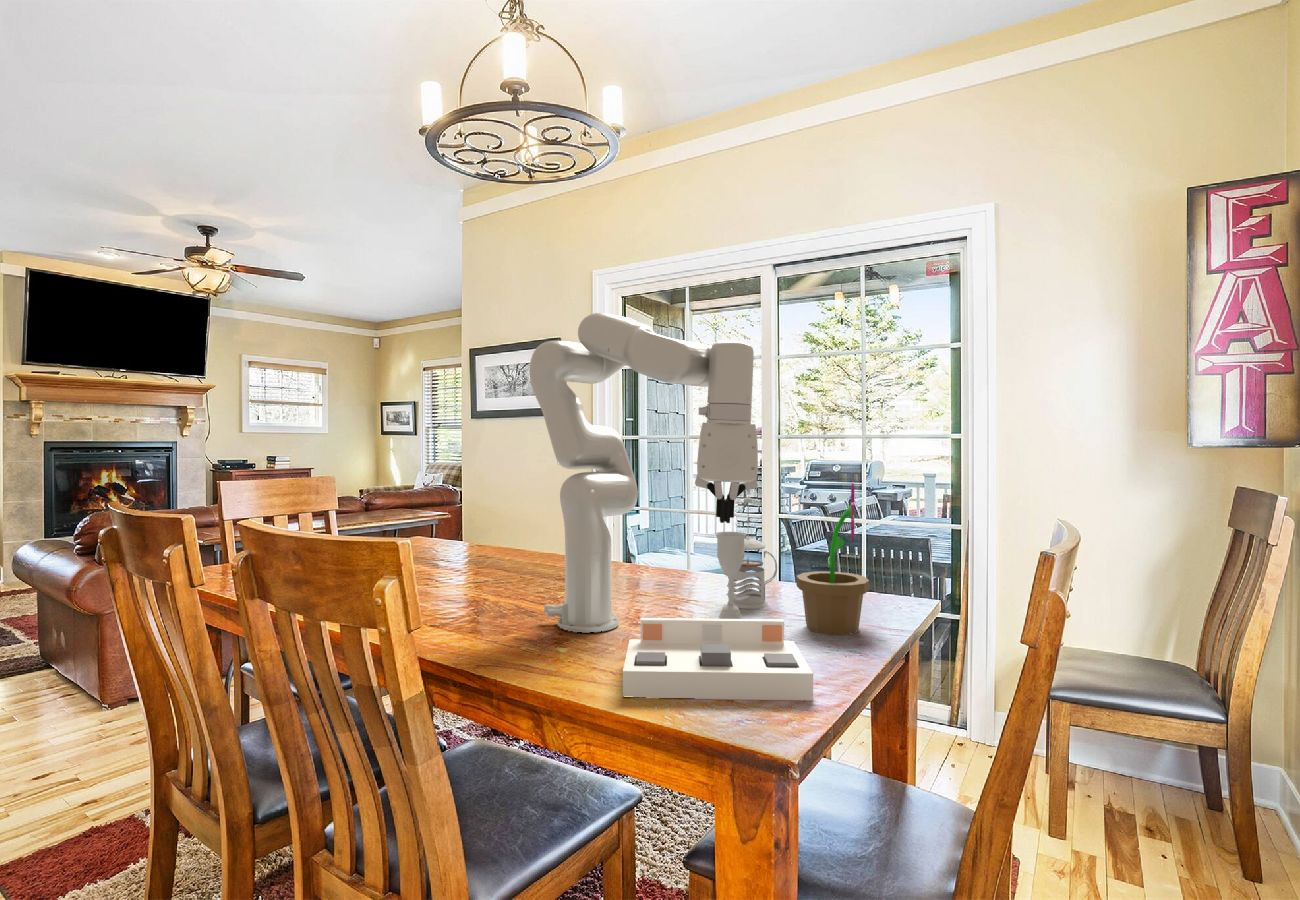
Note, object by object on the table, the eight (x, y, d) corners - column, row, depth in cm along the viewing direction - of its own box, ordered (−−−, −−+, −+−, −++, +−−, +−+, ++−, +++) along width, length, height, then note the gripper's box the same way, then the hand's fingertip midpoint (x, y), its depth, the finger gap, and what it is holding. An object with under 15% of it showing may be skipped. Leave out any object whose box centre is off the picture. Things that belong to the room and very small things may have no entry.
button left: (635, 680, 102) (635, 661, 102) (637, 670, 106) (637, 652, 106) (664, 681, 102) (664, 661, 102) (665, 671, 106) (665, 652, 106)
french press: (726, 598, 163) (726, 495, 163) (774, 599, 162) (775, 495, 161) (727, 608, 153) (727, 498, 153) (778, 609, 152) (778, 499, 152)
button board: (622, 698, 99) (622, 644, 99) (629, 662, 115) (629, 616, 115) (813, 700, 98) (813, 646, 98) (793, 664, 114) (793, 617, 114)
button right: (768, 682, 101) (768, 662, 101) (764, 672, 106) (764, 653, 106) (797, 682, 101) (797, 662, 101) (792, 672, 106) (792, 653, 106)
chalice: (712, 612, 149) (712, 531, 149) (742, 612, 149) (742, 531, 149) (718, 621, 142) (718, 536, 141) (749, 620, 142) (750, 536, 142)
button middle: (701, 672, 102) (701, 652, 102) (700, 662, 106) (700, 643, 106) (730, 672, 101) (730, 652, 101) (728, 663, 106) (728, 644, 106)
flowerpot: (869, 641, 128) (870, 484, 128) (793, 634, 132) (793, 482, 132) (868, 621, 142) (869, 480, 141) (799, 616, 146) (799, 478, 145)
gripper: (685, 413, 111) (681, 523, 112) (776, 416, 110) (771, 527, 111) (685, 413, 118) (681, 517, 119) (769, 416, 118) (765, 520, 119)
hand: (724, 521), depth 115 cm, fingers closed
